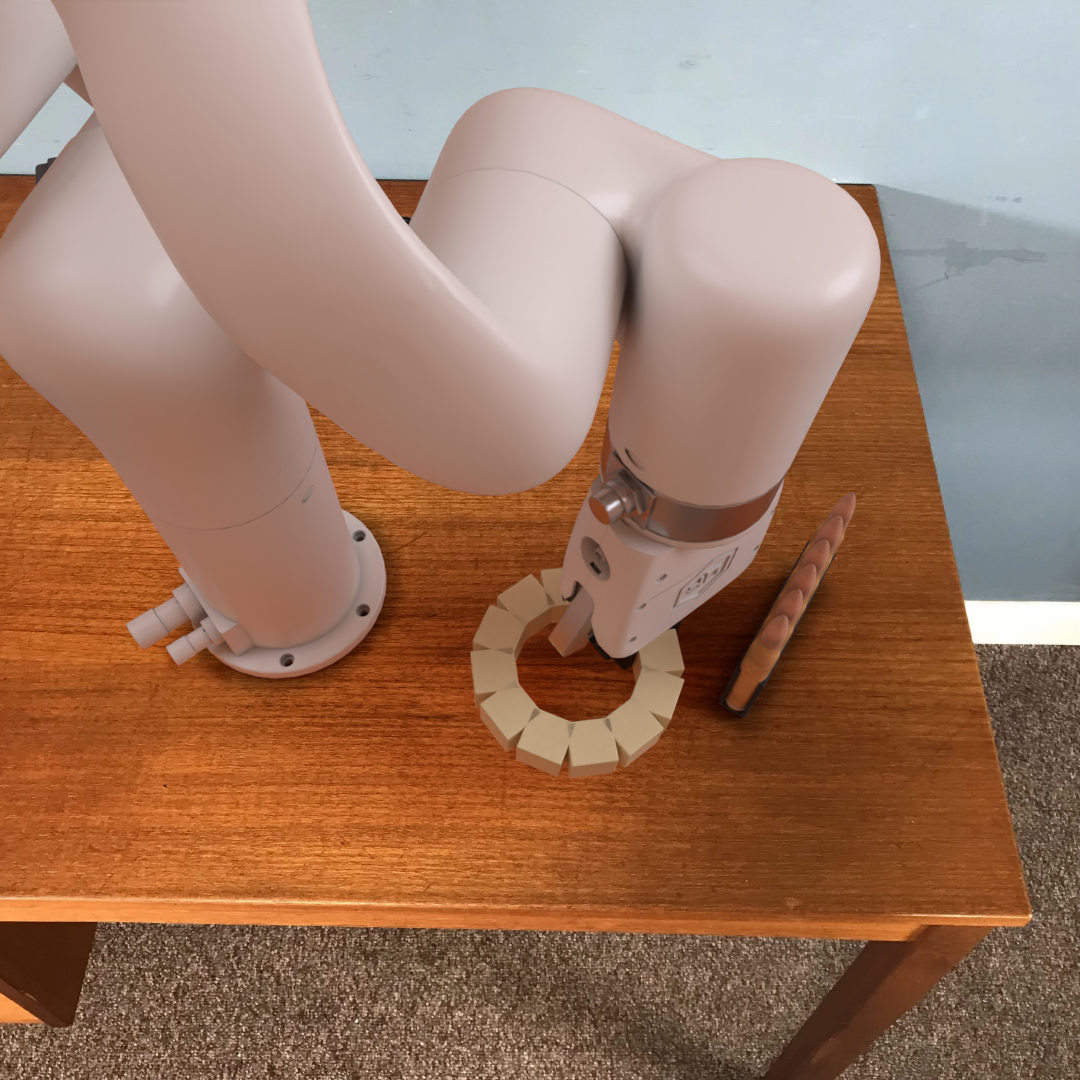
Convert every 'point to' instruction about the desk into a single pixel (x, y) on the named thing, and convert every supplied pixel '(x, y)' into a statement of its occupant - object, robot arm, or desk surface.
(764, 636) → the ammunition clip
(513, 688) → the segmented block ring
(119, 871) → the desk surface
